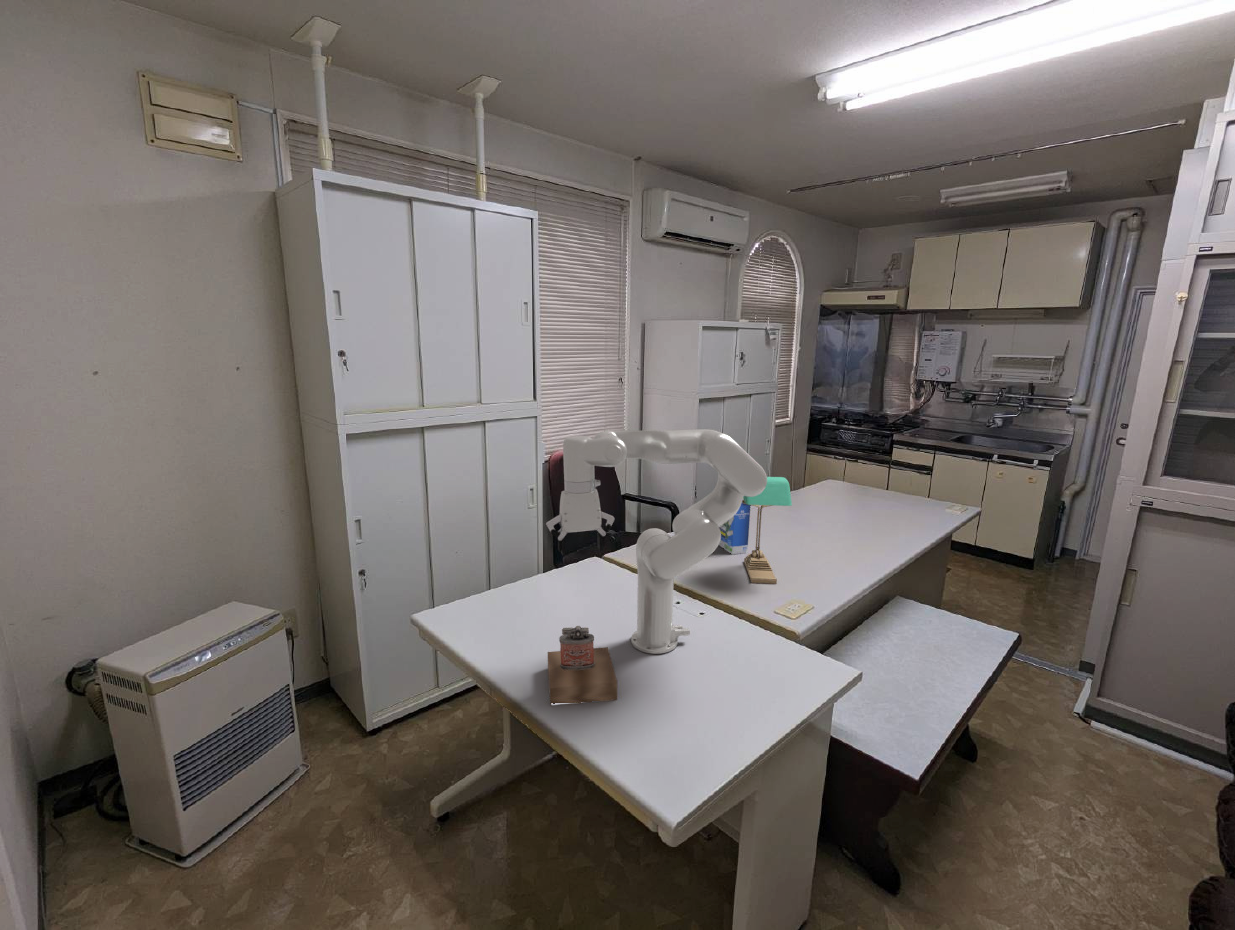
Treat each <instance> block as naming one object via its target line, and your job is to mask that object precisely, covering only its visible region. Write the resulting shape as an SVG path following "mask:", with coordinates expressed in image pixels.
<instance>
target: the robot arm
mask: <svg viewBox="0 0 1235 930" xmlns="http://www.w3.org/2000/svg"><path fill="white" fill-rule="evenodd" d="M562 448H563V449H562V454H563V456H562V459H563V475H564V476H563V479H564V481H563V482H564V490H562V491H561V494H560V500H559V514H558V515H556V516H555V517H553V518H552V519H550V520H548V521H546V523H545V525H546V527H547V529H548V530H549V532H550V534H551V535H553V536H554V537H555V538H556V539H557V550H558V552H560V553H561V555H562V556H565V555H566V540H565V536H567V534H568V533H577V532H580V533H581V532H586V531H587V532H588V531H597V533H596V538H597V539H596V541H597V545H596V546H597V549H598V550H599V551H600V552H603V551H604V549H603V548H604V547H605V545H606V544H605V541H606V540H605V536H606V534H607V533H608V532H609V531H610V530H611V528H612V525H613V523H614V522H615V517H614V516H613V515H611V514H608V513H606V512H603V511H602V510H601V509H602V508H601V503H600V497H599V492H598V489H597V487H598V486H601V480H600V479H595V466H596V467H605V468H614V467H618V466H620V465H621V464H622V463H624V462H625V461H626V459H635V460H636V459H637V460H644V461H648V462H651V463H655V464H659V465H660V464H661V465H675V464H676V465H677V464H698V463H701V464H707V465H710V466H711V467H712V468H713V469H714V470H715V471H716V472H717V474H718V476H717V477H718V478H717V483H716V485H715V487H714V489H713V490H712V491H711V492H710V493H709V494H708V495H706V496H705V497H704V498H702V499H700V500H699V501H697V502H696V503H694V504H692V505H691V506H689V507H688V508H686V509H684V510H682V511H681V512H680V513H678V514H677V515H676V516H675V517H674V519H673V521H672V531H673V533H674V535H673V536H670V534H668V533H667V532H666V531H664V530H662V529H660V528H656V527H655V528H653V527H652V528H648V529H646V530H644V531H643V532H641V534H640V535H639V537H638V539H637V541H636V546H635V557H636V567H637V593H636V595H637V596H636V597H637V599H636V601H637V603H636V604H637V605H636V610H637V611H636V614H637V615H636V617H637V618H636V631H633V633H632V634H631V638H630V639H631V640H630V641H631V645H632V646H633V647H634V648H635V649H636V650H637V651H640V652H642V653H647V654H653V655H656V654H666V653H669V652H672V651H673V650H675V649H676V648H677V646H678V642H679V639H678V638H679V637H682V636H683V637H686V636H690V634H691V632H690V631H691V630H690V628H689V627H683V625H682V624H677V625H674V624H673V620H674V619H673V616H674V615H673V613H674V584H675V583H674V578H675V577H677V576H680V575H682V574H683V573H685V572H687V571H688V570H689V569H690V568H692V567H695V566H696V565H697V564H698V563H700V562H702V561H703V560H704V559H706V558H708V557H709V556H710V555H712V554H713V552H715V551H716V549H717V548H718V547H719V542H720V539H721V532H720V529H719V527H720V526H721V525H723V524H724V523H725V522H727V521H728V520H730V519H731V518H732V517H733V516H734V515H735V514H736V513H737V511H738V510H739V508H740V506H741V503H742V500H743V497H744V496H747V497H753V496H756V495H759V494H760V493H761V492H763V490H764V489H765V487H766V484H767V477H768V476H767V473H766V471H765V470H764V468H763V466H762V465H760V464H759V463H758V462H757V461H756V460H755V459H754V458H753V457H752V456H751V455H750V454H749V453H747V451H746V450H745V449H744V448H743V447H741V446H740V445H739V443H738V442H737V441H736V440H734V439H733V438H732V437H731V436H729V435H728V434H727V433H723V432H720V431H717V430H715V429H707V428H706V429H704V428H703V429H683V430H681V429H680V430H679V429H678V430H675V429H673V430H655V429H654V430H652V429H651V430H629V429H628V430H624V429H623V430H606V431H605V430H604V431H601V432H598V433H597V434H595V436H594V437H593V438H592V437H590V436H585V435H572V436H568V437H566V438H565V439H564V440H563V441H562ZM602 519H605V520H606V523H605V524H604V525H603V526H602ZM557 524H559V526H560V529H559V530H556V529H555V527H554V526H555V525H557Z"/></svg>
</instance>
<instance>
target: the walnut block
mask: <svg viewBox="0 0 1235 930" xmlns="http://www.w3.org/2000/svg"><path fill="white" fill-rule="evenodd" d="M560 662H561V650H557V651H547V675H549V676H548V688H549V689H548V690H549V691H550V692H549V703H550V704H551V703H553V704H555V703H578V704H582V703H581V702H588V703H593V702H592V701H599V702H607V701H616V700H618V680H617V677H616V673H615V670H614V665H613V662H612V657H611V653H610V649H609V648H608V646H605V647H604V646H603V647H594V662H595V666H594V667H593V668H591V669H584V670H564V669H561V667H560ZM550 704H549V705H550Z"/></svg>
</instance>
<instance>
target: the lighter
mask: <svg viewBox="0 0 1235 930" xmlns="http://www.w3.org/2000/svg"><path fill="white" fill-rule="evenodd" d="M589 631H590V630H589V627H581V626H580V625H576V626H575V627H563V628H562V629H561V634H562V635H560V636H559V639H558V640H559V643H560V645H559V647H560V648H559V649H560V651H561V662H560V667H561V669H564V670H584V669H591V668H593V667H594V666H595V662H594V648H595V647H594V641H595V636H594V635H593V634H592V633H589Z"/></svg>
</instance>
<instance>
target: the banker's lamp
mask: <svg viewBox="0 0 1235 930" xmlns="http://www.w3.org/2000/svg"><path fill="white" fill-rule="evenodd" d="M743 499H744V500H742V503H744V504H748V505H750V506H753V507H757V518H756V535H755V536H756V537H755V549H754V550H753V549H752V550H751V553H747V555H746V556H745V557H744V559H743V563H744V566H745V568H746V571H747V574H748V577H749V579H750V583H752V584H772V585H774V584H775V585H777V580H778V578H776V576H775V574H774V572H773V567H772V566H771V564H770V562H769V560H768V558H767V557H766V555H765V554H764V553H763V550H760V549H761V525H762V513H763V512H762V511H763V508H767V507H773V506H781V507H782V506H783V507H791V506H792V505H793V504H792V496H791V488H790V483H789V481H788V479H787V478H786V477H783V476H767V484H766V487H765V489H764V490H763V492H761V493H760V494H759V495H756V496H753V497H747V496H744V497H743Z"/></svg>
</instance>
